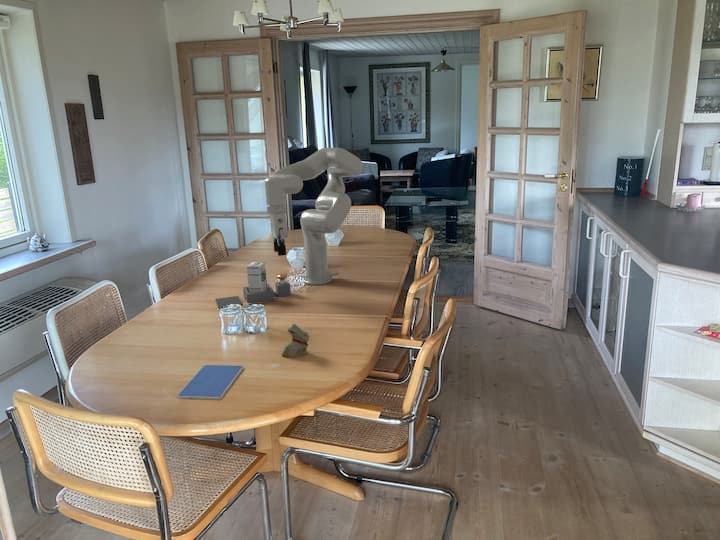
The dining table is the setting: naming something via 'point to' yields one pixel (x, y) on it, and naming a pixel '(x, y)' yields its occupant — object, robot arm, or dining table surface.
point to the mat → (228, 301)
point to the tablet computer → (211, 382)
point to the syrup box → (256, 277)
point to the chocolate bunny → (296, 343)
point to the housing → (267, 293)
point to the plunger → (282, 278)
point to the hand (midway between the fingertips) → (280, 253)
